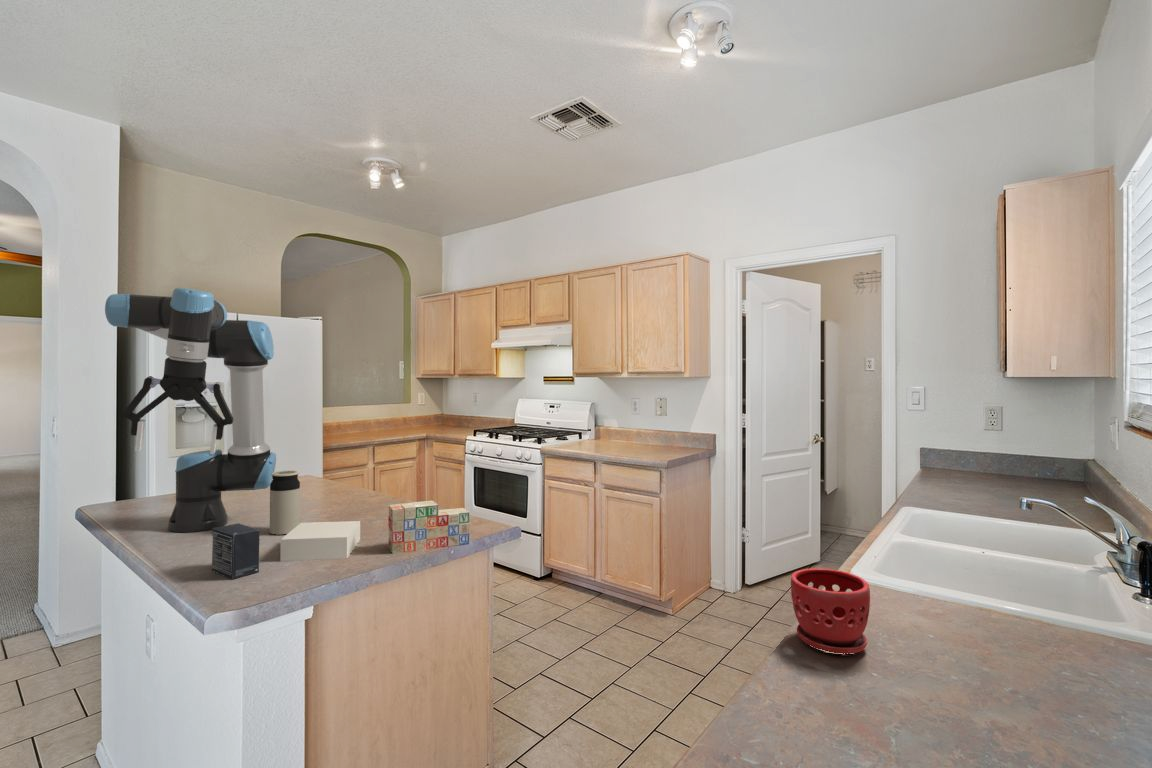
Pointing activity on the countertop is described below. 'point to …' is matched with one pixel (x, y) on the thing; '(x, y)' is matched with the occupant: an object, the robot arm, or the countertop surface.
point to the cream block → (320, 541)
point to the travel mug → (284, 502)
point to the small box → (235, 550)
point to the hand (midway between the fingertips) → (176, 451)
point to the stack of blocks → (426, 527)
